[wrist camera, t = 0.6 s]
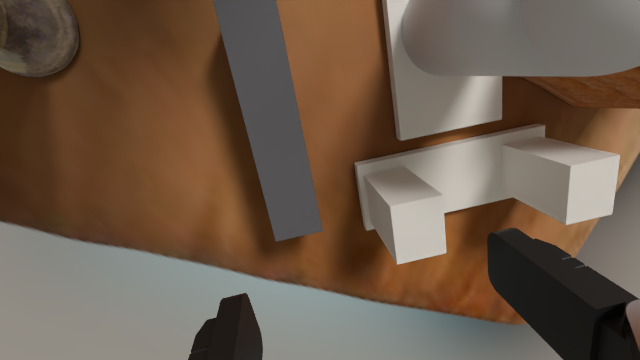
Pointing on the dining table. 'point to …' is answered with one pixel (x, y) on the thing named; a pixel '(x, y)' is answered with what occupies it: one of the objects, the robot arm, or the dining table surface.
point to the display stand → (488, 113)
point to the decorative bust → (37, 36)
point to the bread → (595, 89)
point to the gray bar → (270, 113)
